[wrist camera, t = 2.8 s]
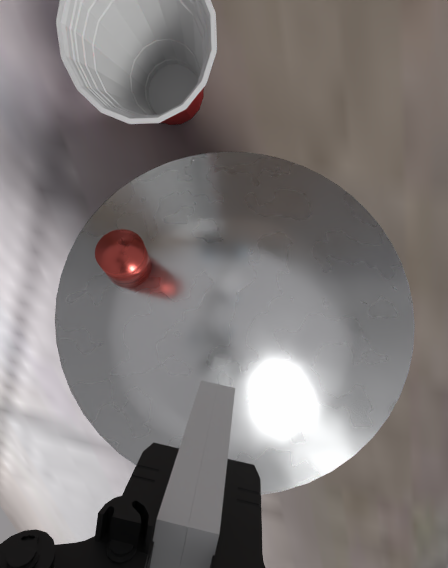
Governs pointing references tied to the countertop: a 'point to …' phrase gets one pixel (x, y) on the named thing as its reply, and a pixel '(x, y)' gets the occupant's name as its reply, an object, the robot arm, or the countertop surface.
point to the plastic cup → (139, 55)
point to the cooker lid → (237, 313)
